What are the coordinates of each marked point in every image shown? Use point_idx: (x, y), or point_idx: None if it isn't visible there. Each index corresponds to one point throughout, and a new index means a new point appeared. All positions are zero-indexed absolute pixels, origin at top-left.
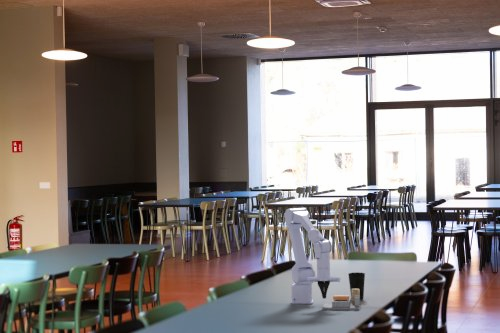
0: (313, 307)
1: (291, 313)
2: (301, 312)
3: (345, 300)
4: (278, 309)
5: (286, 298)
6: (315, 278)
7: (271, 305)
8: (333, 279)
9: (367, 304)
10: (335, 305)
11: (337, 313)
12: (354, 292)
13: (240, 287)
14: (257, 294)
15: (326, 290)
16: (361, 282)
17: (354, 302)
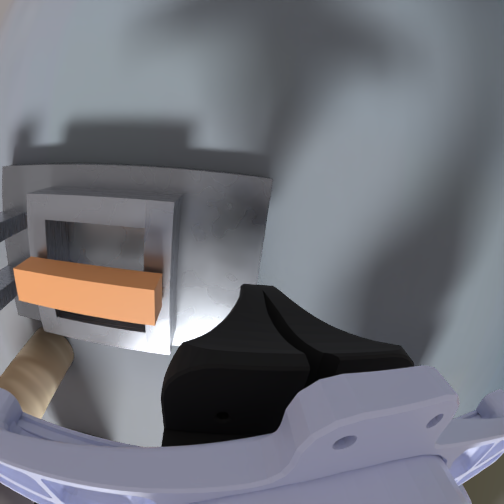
0: (328, 289)
1: (462, 105)
2: (419, 115)
3: (74, 314)
4: (495, 241)
5: None
6: (484, 435)
7: (483, 337)
8: (47, 442)
9: (8, 336)
10: (150, 193)
11: (157, 30)
12: (15, 379)
13: None
14: None
15: (233, 313)
16: None
17: (47, 339)
